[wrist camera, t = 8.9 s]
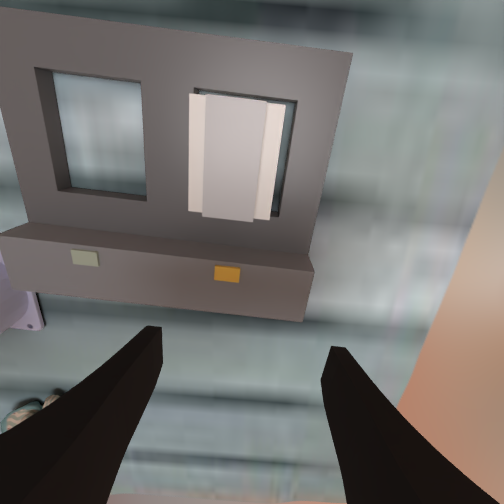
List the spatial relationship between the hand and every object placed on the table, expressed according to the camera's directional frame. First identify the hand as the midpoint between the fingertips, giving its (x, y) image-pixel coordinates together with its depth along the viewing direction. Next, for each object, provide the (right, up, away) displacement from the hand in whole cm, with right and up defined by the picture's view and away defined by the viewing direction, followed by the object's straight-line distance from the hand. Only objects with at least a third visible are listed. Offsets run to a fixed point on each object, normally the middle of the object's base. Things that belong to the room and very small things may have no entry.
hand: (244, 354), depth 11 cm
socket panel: (-5, +10, +7) cm, 13 cm away
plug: (0, +11, +6) cm, 13 cm away
